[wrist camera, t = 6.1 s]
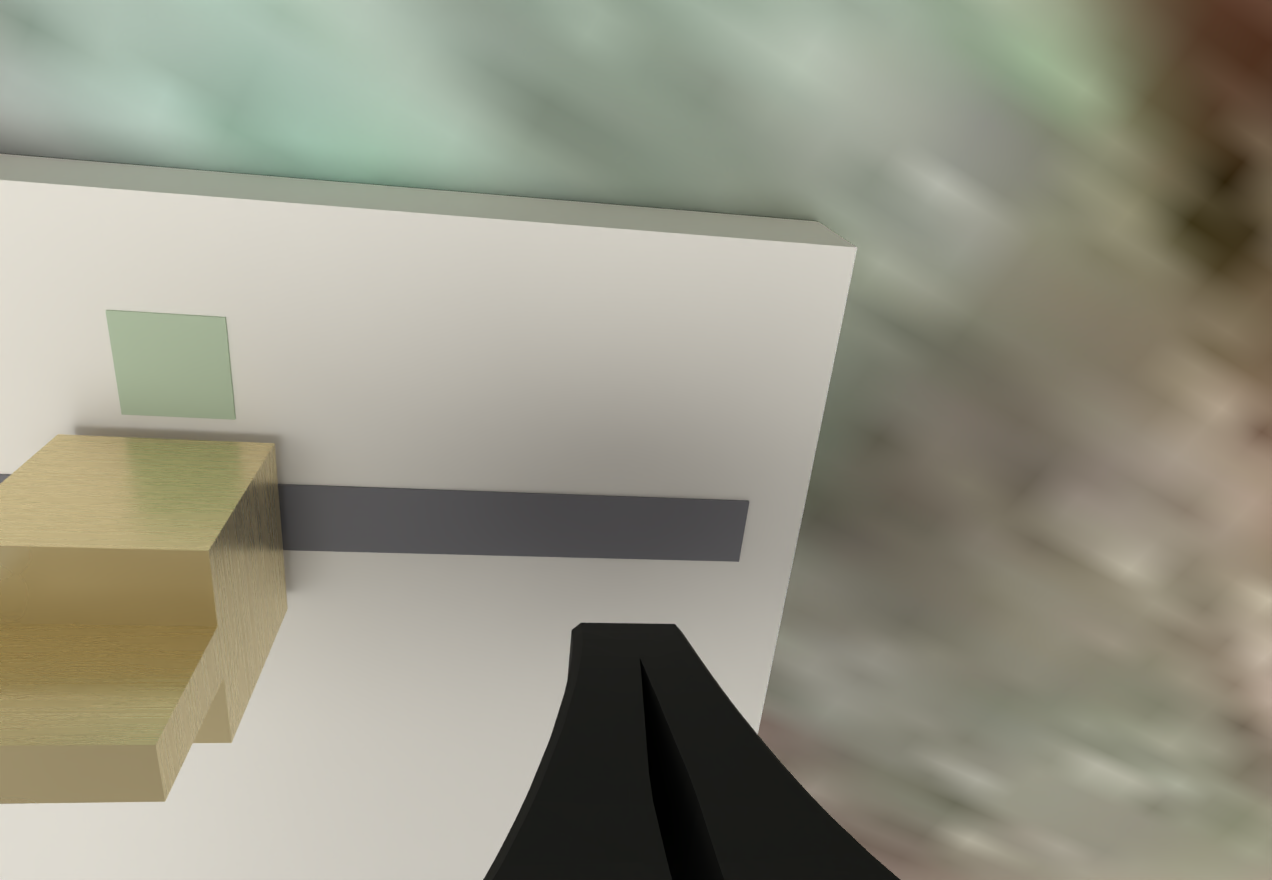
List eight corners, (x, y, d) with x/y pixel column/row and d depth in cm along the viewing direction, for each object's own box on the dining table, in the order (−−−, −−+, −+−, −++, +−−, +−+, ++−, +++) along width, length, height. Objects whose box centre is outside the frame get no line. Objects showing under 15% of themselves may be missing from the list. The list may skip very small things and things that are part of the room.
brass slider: (287, 608, 14) (177, 873, 10) (90, 605, 14) (-119, 880, 9) (274, 443, 13) (141, 659, 9) (57, 434, 13) (-202, 657, 8)
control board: (687, 928, 22) (709, 1051, 20) (-391, 966, 19) (-544, 1120, 16) (817, 221, 15) (881, 263, 12) (-913, 77, 12) (-1350, 92, 9)
